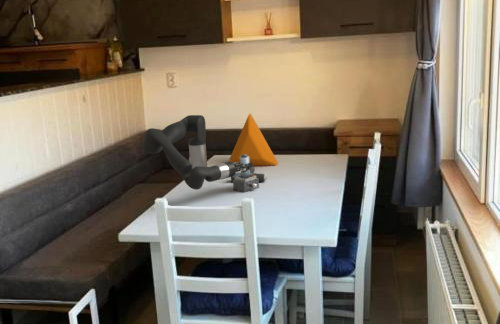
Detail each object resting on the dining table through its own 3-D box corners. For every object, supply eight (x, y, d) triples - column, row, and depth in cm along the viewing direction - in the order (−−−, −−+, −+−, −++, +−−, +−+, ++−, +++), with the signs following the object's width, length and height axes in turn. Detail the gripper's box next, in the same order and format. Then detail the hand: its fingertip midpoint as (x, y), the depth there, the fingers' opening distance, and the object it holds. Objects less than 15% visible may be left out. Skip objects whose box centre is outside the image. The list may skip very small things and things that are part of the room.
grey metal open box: (233, 189, 275) (232, 177, 273) (247, 185, 282) (246, 172, 280) (249, 193, 267) (248, 180, 266) (263, 188, 274) (262, 175, 272)
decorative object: (225, 168, 320) (221, 117, 314) (229, 162, 335) (226, 113, 329) (276, 167, 316) (274, 115, 309) (278, 161, 331) (276, 111, 324)
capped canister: (238, 177, 274) (237, 154, 272) (245, 175, 277) (244, 153, 275) (245, 178, 271) (244, 156, 268) (252, 176, 274) (250, 154, 271)
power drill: (273, 174, 302) (266, 184, 283) (240, 174, 307) (230, 183, 288) (273, 164, 301) (265, 174, 282) (240, 164, 306) (230, 173, 287)
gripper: (233, 164, 257) (258, 158, 269) (212, 161, 267) (238, 154, 279) (234, 180, 259) (259, 173, 270) (213, 176, 269) (239, 169, 280)
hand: (248, 163), depth 274 cm, fingers closed on capped canister, 4 cm apart
